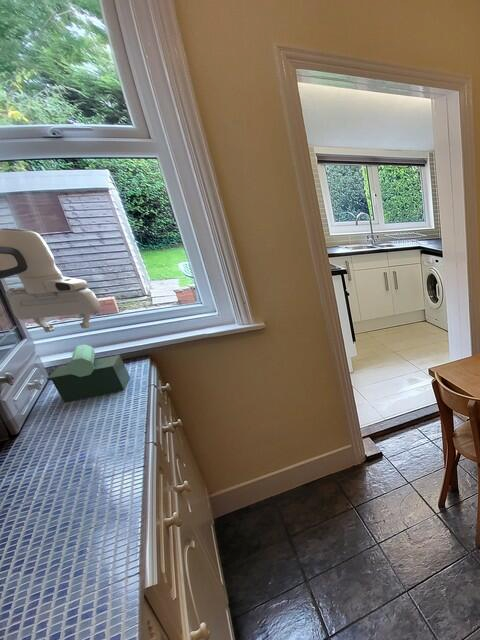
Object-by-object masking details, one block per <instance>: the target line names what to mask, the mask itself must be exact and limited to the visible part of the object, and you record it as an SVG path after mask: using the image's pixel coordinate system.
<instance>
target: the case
mask: <svg viewBox="0 0 480 640" xmlns="http://www.w3.org/2000/svg"><path fill="white" fill-rule="evenodd" d="M130 379H131V376H130V374H129V372H128V370H127V368H126V365H125V363H124V361H123V359H122V357H121V356H120V359H119V360H118V362H117V364H116V365H115V367H114V368H112V369H107V370H102V371H97V372H92V373H91V374H90V375H87V376H82V377H79V376H71V377H65V378H60V379H55V380H51V382H52V383H53V385H54V388H55V389H56V390H57V393H58V394H59V395H60V396H59V397H60V398H61V399H62V402H63V403H70V402H75V401H79V400H84V399H89V398H93V397H98V396H102V395H109V394H112V393H117V392H122V391H125V389H126V387H127V386H128V383H129V381H130Z"/></svg>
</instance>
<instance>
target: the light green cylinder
mask: <svg viewBox="0 0 480 640" xmlns="http://www.w3.org/2000/svg"><path fill="white" fill-rule="evenodd" d="M95 351H96V350H94V347H93V346H90V345H87V344H86V343H85V344H79V345H77V346H76V347H75V348H74V350H73V351H72V352H73V353H72V355H71V359H70V360H69V362H68V363H67V364H68V365H67V368H68V370H69V372H70V374H73V375H76V376H79V377H82V376H87V375H90V374H91V373H92V372H93V370H94V369H95V367H94V365H93V362H94V359H95V354H96V352H95Z"/></svg>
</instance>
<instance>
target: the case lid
mask: <svg viewBox="0 0 480 640" xmlns="http://www.w3.org/2000/svg"><path fill="white" fill-rule="evenodd" d="M120 357H121V355H120V354H117V355H110V356H106V357H99V358H94V362H93V365H94V367H95V369H94V370H93V372H97V371H102V370H107V369H112V368H114V367H115V365H116V364H117V362H118V360H119V359H120ZM68 364H69V363H67V364H62V365H58V366H57V367H56V368H55V370H53V372H51V373H50V374H49V375H48V377H46V380H47V382H49V381H52V380H55V379H60V378H65V377H71V376H76V375H73V374H70V372H69V370H68V368H67V365H68Z"/></svg>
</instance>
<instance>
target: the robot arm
mask: <svg viewBox="0 0 480 640" xmlns="http://www.w3.org/2000/svg"><path fill="white" fill-rule="evenodd" d="M15 275H16V276H17V277H18V278H19V280H20V282H21V285H22V286H21V287H10V288H9V289H8V290H6V292H5V296H6V299H7V300H8V302H9V305H10V309H11V311H12V313H13V315H14V317H15V318H17V319H18V320H21V321H22V320H33V322H34V323H35V324H37V325H38V326H40V328H42V329H43V331H44V332H45V333H51V332H55V330H56V329H55V328H54V325H53V324H49V323H47V322H46V321H45V320H46V319H45V318H55V317H64V316H65V317H66V316H76V315H79V318H81V319H82V322H80V323H79V325H80V328H81V329H89V328H91V324H90V319H91V314H95V313H97V312H100V311H101V310H102V305H101V304H100V300H99V299H98V297H97V296H96V294H95V293H94V291H93V290H92V289H90V288H88V287H89V284H88V282H87V281H86V280H85V279H79V278H74V277H68V276H64V275H63V274H62V272H61V270H60V269H59V268H58V267H57V265H56V261H55V257H54V255H53V253H52V251H51V249H50V248H49V245H48V244H47V242H46V241H45V240H44V238H43V237H42V236H41V235H40V234H39V233H38V232H36V231H34V230H31V229H25V228H9V227H6V228H4V227H3V228H0V280H3V279H6V278H8V277H12V276H15Z"/></svg>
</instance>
